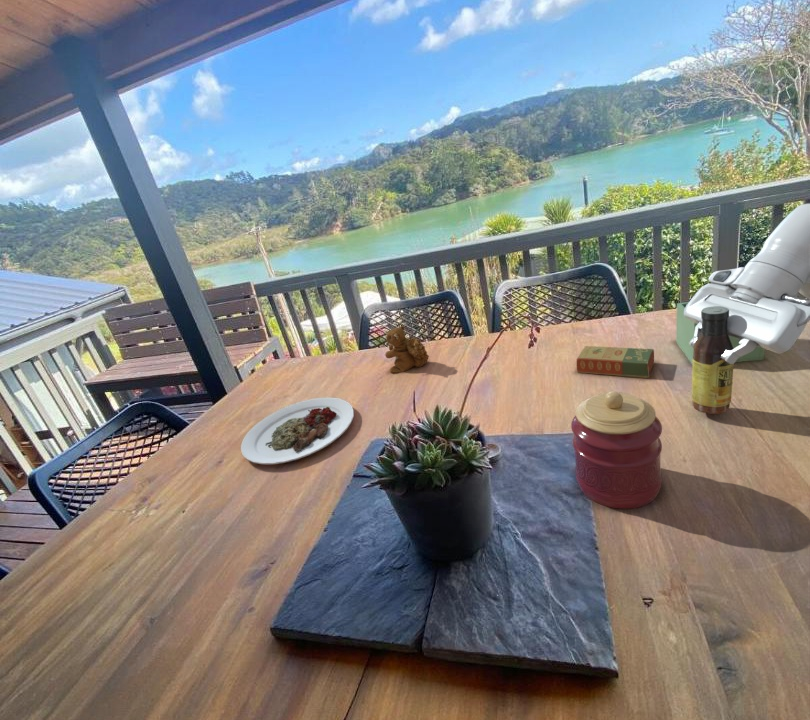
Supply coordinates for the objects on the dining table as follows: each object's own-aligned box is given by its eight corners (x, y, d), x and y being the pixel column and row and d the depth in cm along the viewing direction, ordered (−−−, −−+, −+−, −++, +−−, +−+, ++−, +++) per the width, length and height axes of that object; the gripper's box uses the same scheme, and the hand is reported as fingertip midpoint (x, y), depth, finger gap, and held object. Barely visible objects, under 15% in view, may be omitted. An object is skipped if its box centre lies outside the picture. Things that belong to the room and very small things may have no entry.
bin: (738, 336, 108) (741, 295, 104) (763, 360, 97) (768, 315, 93) (676, 342, 113) (676, 303, 109) (692, 365, 101) (694, 322, 97)
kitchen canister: (678, 481, 71) (681, 387, 64) (630, 524, 65) (627, 426, 59) (606, 450, 82) (602, 366, 75) (560, 484, 76) (550, 397, 69)
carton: (586, 359, 116) (585, 344, 114) (654, 363, 106) (654, 347, 104) (577, 373, 110) (575, 358, 108) (648, 379, 100) (648, 362, 99)
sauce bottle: (724, 419, 80) (730, 319, 72) (686, 410, 84) (687, 316, 77) (735, 402, 83) (742, 304, 76) (698, 395, 88) (700, 302, 80)
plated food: (218, 466, 108) (213, 455, 107) (288, 403, 133) (284, 393, 132) (317, 473, 96) (312, 461, 95) (373, 402, 121) (370, 392, 119)
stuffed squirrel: (399, 359, 145) (389, 322, 140) (437, 358, 138) (429, 320, 133) (384, 373, 137) (374, 335, 132) (424, 373, 130) (415, 333, 125)
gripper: (834, 312, 68) (771, 384, 71) (726, 286, 86) (680, 344, 90) (811, 292, 66) (747, 367, 69) (706, 270, 85) (659, 330, 88)
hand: (708, 354), depth 80 cm, fingers closed on sauce bottle, 6 cm apart
